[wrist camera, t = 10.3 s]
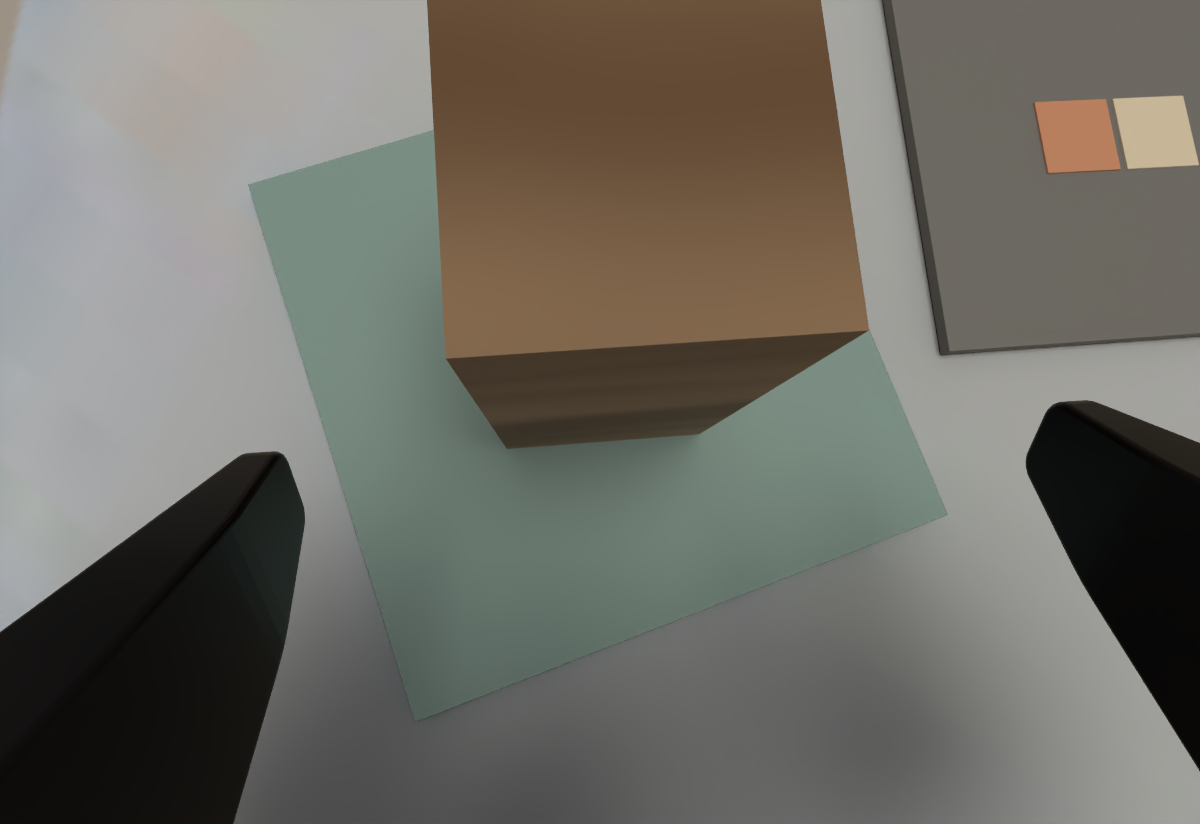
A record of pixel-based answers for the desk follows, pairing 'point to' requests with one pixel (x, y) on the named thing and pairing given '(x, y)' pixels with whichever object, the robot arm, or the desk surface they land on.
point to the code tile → (1053, 167)
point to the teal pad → (550, 459)
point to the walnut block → (637, 210)
